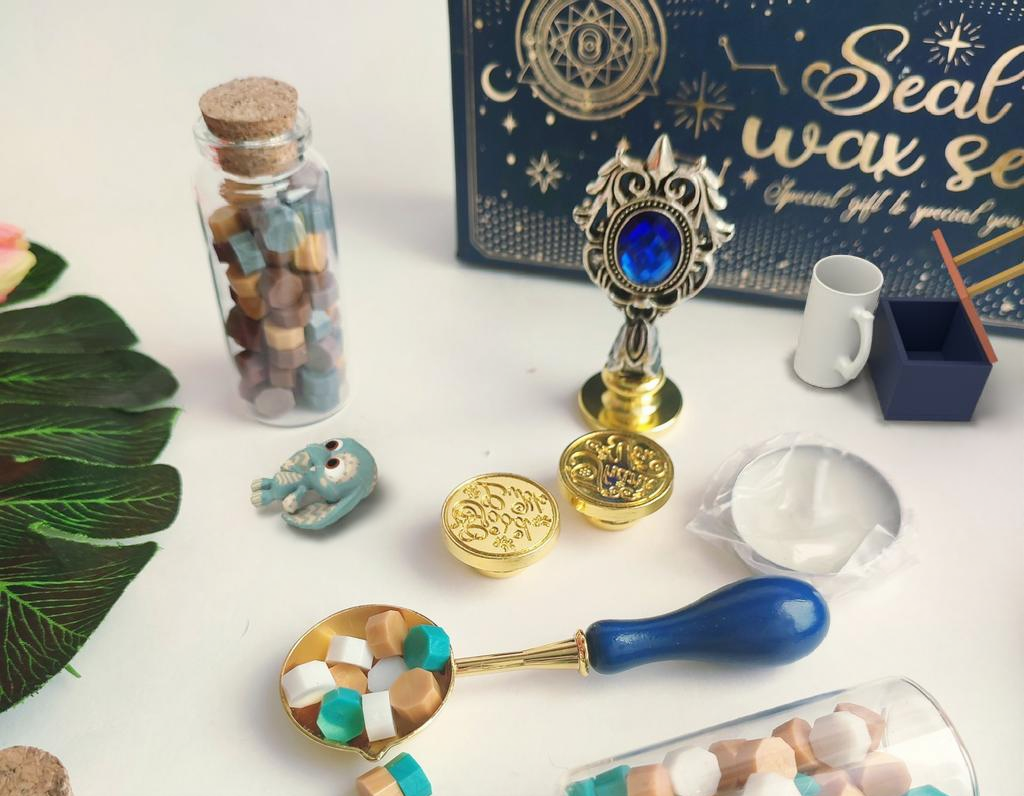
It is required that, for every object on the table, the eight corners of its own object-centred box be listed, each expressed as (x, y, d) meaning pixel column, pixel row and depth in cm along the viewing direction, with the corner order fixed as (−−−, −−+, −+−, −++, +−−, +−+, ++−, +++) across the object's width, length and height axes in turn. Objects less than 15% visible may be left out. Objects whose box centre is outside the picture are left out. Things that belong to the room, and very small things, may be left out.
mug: (780, 354, 116) (802, 259, 107) (838, 345, 117) (865, 250, 108) (818, 415, 109) (845, 319, 101) (879, 405, 110) (911, 310, 102)
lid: (960, 299, 98) (1063, 252, 94) (932, 231, 105) (1026, 185, 101) (991, 364, 103) (1090, 322, 99) (961, 295, 111) (1052, 254, 107)
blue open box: (884, 420, 109) (903, 364, 104) (863, 351, 116) (880, 296, 111) (970, 421, 109) (993, 366, 103) (943, 352, 116) (964, 297, 111)
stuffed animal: (235, 424, 101) (359, 393, 100) (263, 476, 106) (380, 446, 105) (232, 507, 93) (366, 474, 93) (262, 558, 99) (389, 526, 98)
